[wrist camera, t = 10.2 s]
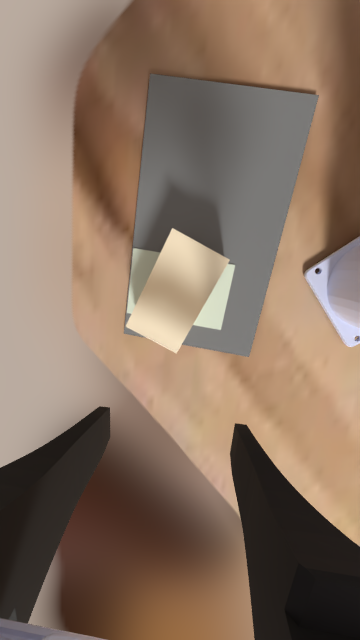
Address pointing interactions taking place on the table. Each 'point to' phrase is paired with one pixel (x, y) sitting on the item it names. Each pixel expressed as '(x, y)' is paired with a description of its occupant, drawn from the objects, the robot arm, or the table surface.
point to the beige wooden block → (176, 290)
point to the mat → (218, 192)
